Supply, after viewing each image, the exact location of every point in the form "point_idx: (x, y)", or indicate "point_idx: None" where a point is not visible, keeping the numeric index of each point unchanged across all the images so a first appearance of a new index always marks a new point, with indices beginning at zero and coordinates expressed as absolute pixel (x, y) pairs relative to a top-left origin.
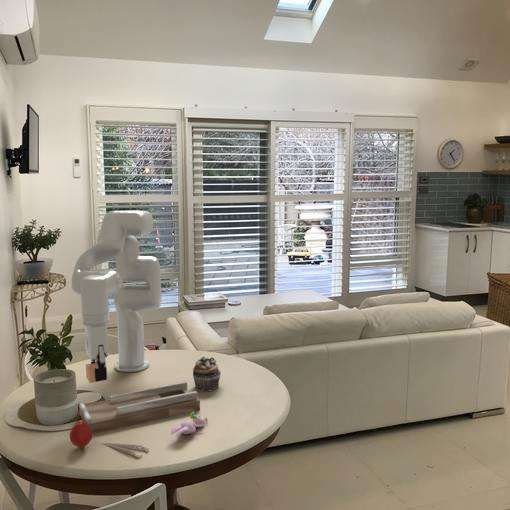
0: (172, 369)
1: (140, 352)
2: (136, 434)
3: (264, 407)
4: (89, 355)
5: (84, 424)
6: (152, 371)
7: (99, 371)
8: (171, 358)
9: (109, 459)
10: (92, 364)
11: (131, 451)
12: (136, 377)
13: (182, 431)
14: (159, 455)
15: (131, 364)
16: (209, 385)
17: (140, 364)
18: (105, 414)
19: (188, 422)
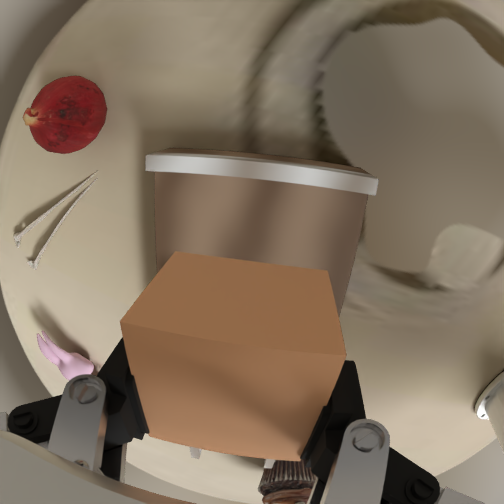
0: (423, 444)
1: (497, 432)
2: (108, 278)
3: (151, 463)
4: (41, 493)
5: (33, 131)
6: (452, 417)
7: (104, 373)
8: (463, 445)
9: (24, 175)
10: (285, 402)
11: (21, 231)
12: (460, 388)
13: (40, 349)
14: (19, 276)
15: (500, 397)
16: (265, 472)
17: (487, 409)
18: (208, 240)
19: (65, 377)
